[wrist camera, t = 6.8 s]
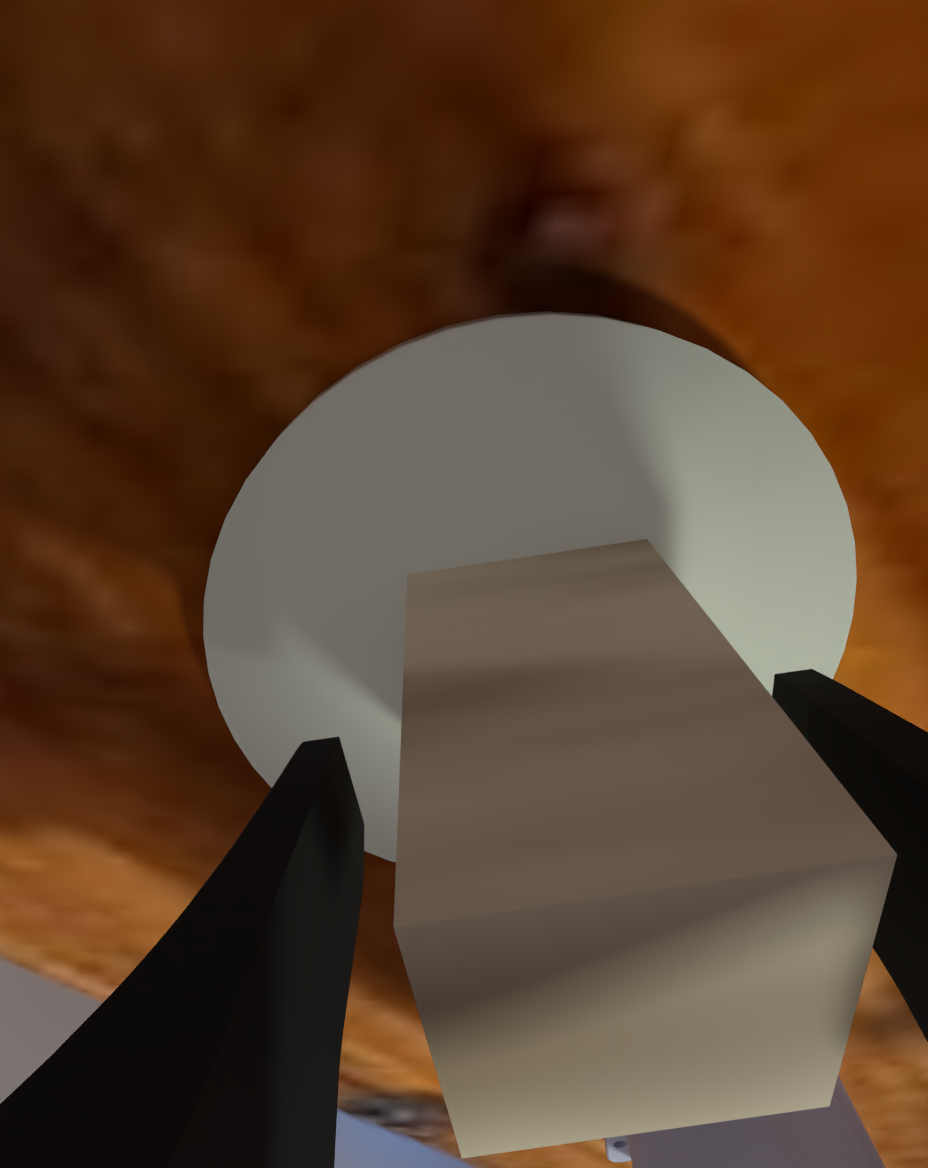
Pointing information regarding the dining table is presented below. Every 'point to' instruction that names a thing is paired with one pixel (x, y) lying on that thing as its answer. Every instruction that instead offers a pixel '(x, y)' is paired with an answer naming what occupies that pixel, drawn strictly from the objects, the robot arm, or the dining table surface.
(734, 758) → the block
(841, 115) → the dining table surface
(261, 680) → the plate
